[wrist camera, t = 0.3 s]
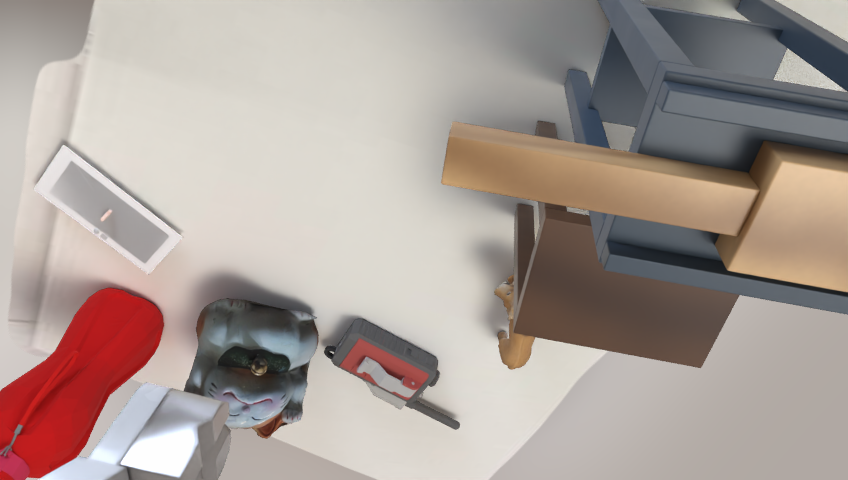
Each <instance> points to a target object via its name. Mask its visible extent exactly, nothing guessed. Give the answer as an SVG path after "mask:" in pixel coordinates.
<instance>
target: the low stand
mask: <svg viewBox="0 0 848 480" xmlns="http://www.w3.org/2000/svg"><path fill="white" fill-rule="evenodd" d="M535 136H540V137H546V138H552V139H557V134H556V126H555V124H554V123H548V122H543V121H538V124H537V128H536V132H535ZM538 206H539V224H540V227H539V230H538V234H537V237H536V241H535V234H534V210H533V206H528V205H523V204H518V205H517V209H516V213H515V218H514V311H513V320H514V321H513V333H516V334H521V335H527V336H532V337H537V338H543V339H548V340H553V341H559V342H564V343H570V344H575V345H580V346H586V347H591V348H596V349H602V350H607V351H612V352H618V353H623V354H628V355H634V356H639V357H645V358H650V359H656V360H661V361H666V362H671V363H677V364H683V365H687V366H693V367H698V368H701V367H702V365H703V363H704V361H705V359H706V358H707V356H708V354H709V352H710V350H711V348H712V346H713V344H714V342H715V340H716V339H717V337H718V335H719V332H720V331H721V329H722V327H723V325H724V323H725V321H726V319H727V318H728V316H729V314H730V312H731V310H732V308H733V306H734V304H735V302H736V301H737V299H738V297H739V295H738V294H732V293H727V292H721V291H716V290H710V289H705V288H699V287H694V286H688V285H683V284H677V283H672V282H666V281H661V280H655V279H650V278H644V277H639V276H633V275H628V274H622V273H617V272H611V271H606V270H604V269H603V264H602V263H599V260H598V255H597V250H596V246H595V240H594V235H593V230H592V225H591V220H590V216H588V215H583V214H577V213H572V212H567V208H566V206H562V205H557V204H551V203H545V202H540V201H538Z"/></svg>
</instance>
